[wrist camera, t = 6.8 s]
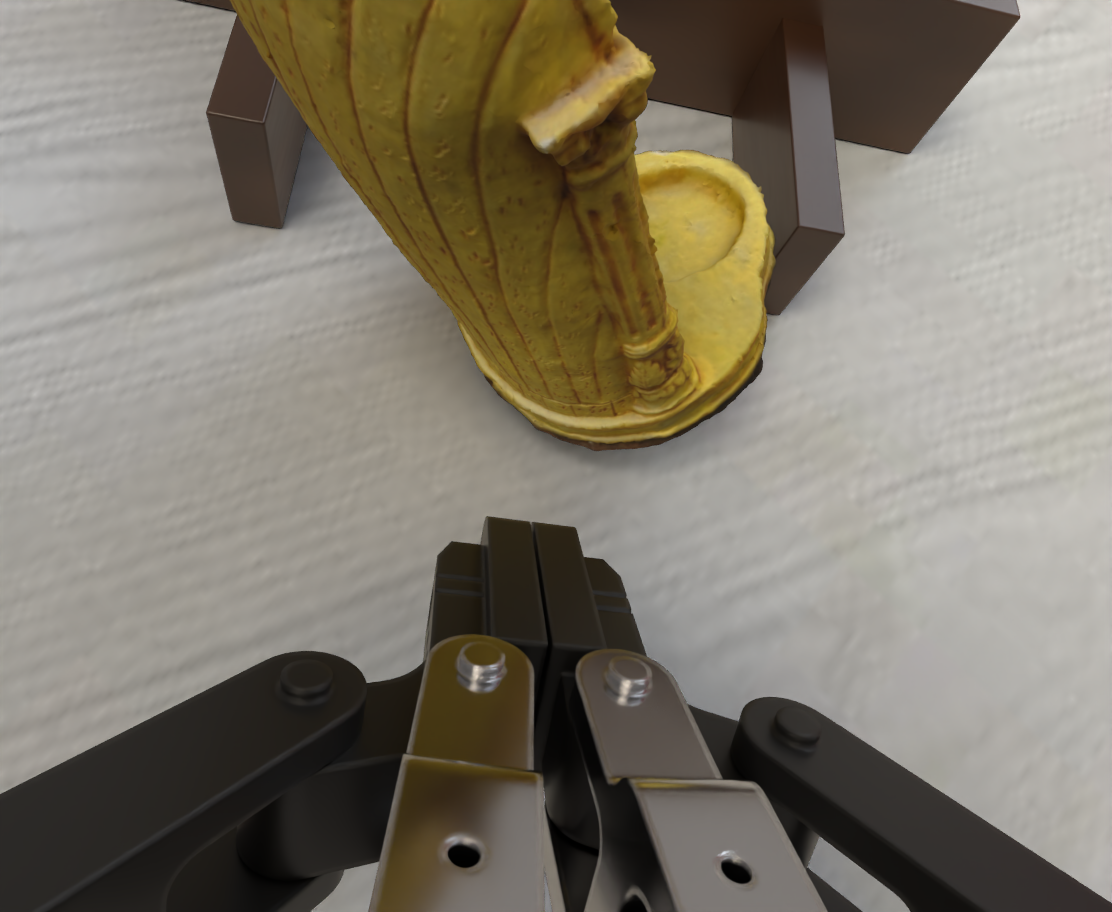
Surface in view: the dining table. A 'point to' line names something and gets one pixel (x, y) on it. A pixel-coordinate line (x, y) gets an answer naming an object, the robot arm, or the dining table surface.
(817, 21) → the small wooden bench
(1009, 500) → the dining table surface
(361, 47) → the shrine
